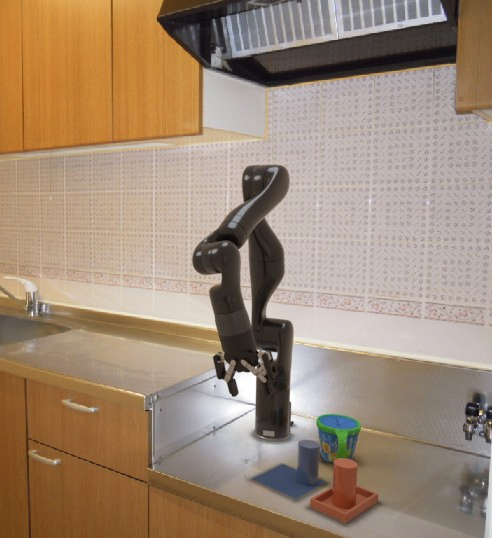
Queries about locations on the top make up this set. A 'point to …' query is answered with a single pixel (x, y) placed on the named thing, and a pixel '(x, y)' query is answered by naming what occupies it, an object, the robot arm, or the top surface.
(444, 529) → the top surface
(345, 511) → the terracotta tray
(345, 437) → the snack cup
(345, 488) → the terracotta cylinder
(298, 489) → the blue mat
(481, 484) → the top surface
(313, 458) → the blue cylinder
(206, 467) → the top surface
